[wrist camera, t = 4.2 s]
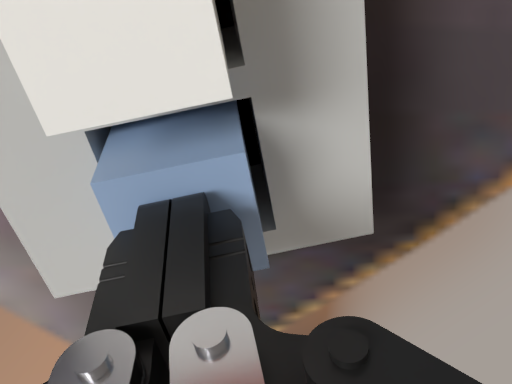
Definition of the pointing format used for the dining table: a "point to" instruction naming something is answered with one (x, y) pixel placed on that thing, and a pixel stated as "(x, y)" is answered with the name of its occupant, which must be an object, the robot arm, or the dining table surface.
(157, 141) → the blue key
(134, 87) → the white key
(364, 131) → the button panel
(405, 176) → the dining table surface
